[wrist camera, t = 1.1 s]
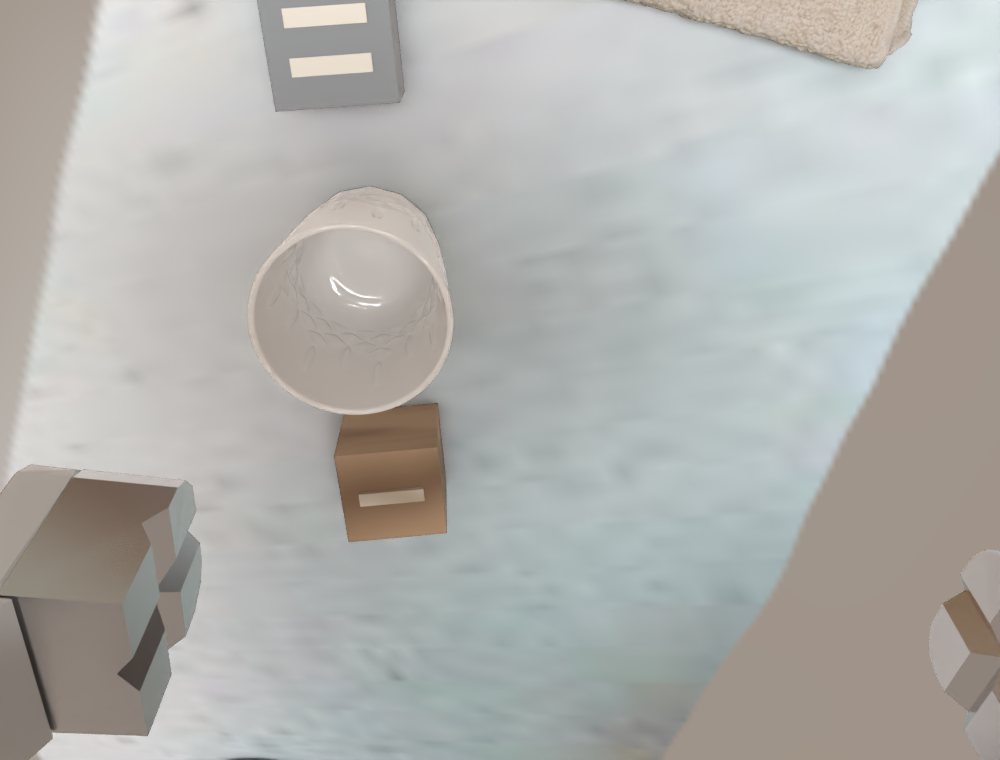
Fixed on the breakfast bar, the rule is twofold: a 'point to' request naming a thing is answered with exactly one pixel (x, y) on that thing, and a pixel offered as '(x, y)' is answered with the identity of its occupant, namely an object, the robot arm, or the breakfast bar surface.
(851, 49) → the washcloth
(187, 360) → the breakfast bar surface
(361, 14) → the slate-grey block
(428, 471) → the walnut block
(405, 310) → the white cup
